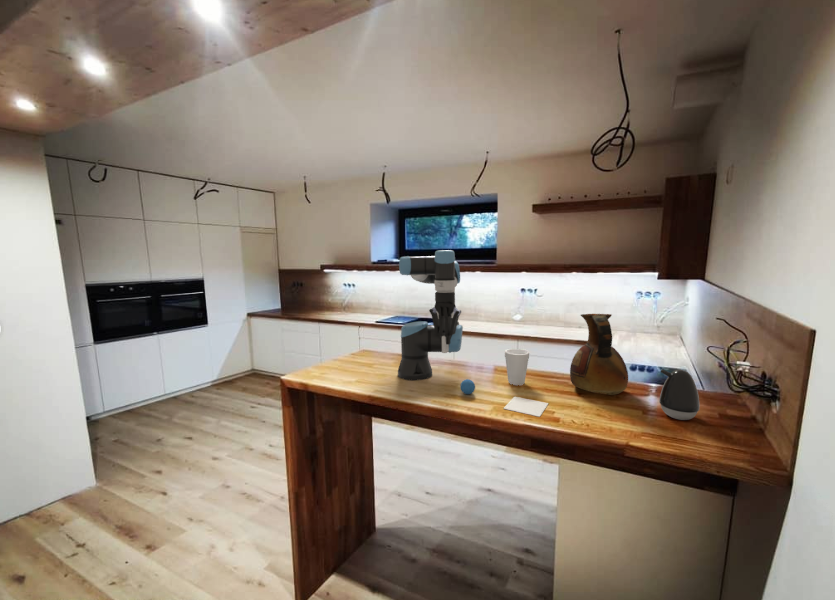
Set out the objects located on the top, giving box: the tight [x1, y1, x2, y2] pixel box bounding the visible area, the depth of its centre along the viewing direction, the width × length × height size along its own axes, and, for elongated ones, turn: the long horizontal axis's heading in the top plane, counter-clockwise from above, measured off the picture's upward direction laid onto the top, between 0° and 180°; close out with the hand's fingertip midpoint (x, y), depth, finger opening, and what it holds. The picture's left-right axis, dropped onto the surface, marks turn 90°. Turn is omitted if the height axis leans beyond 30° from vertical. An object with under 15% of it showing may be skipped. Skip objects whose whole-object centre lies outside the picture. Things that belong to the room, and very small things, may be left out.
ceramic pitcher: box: [569, 313, 629, 396], centre depth 133 cm, size 20×20×30 cm
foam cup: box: [504, 348, 530, 386], centre depth 143 cm, size 10×9×13 cm
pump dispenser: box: [658, 369, 701, 421], centre depth 111 cm, size 10×10×15 cm
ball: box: [460, 378, 476, 395], centre depth 133 cm, size 6×6×6 cm
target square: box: [503, 396, 549, 418], centre depth 121 cm, size 12×12×1 cm
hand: (445, 352), depth 136 cm, fingers closed
